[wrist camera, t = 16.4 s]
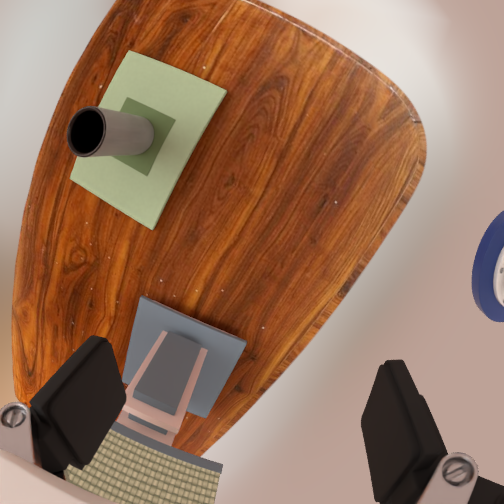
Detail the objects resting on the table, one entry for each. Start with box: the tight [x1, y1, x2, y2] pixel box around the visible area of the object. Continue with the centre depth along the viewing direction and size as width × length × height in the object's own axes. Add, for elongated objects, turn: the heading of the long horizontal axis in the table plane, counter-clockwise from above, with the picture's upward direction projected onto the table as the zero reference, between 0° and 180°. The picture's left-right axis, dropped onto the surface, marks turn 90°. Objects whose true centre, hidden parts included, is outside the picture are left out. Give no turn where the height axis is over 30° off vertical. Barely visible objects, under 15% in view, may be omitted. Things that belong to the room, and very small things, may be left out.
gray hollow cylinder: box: [67, 106, 154, 158], centre depth 26 cm, size 4×4×10 cm
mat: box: [70, 50, 227, 230], centre depth 31 cm, size 18×14×1 cm
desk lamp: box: [67, 295, 247, 504], centre depth 24 cm, size 18×14×33 cm
